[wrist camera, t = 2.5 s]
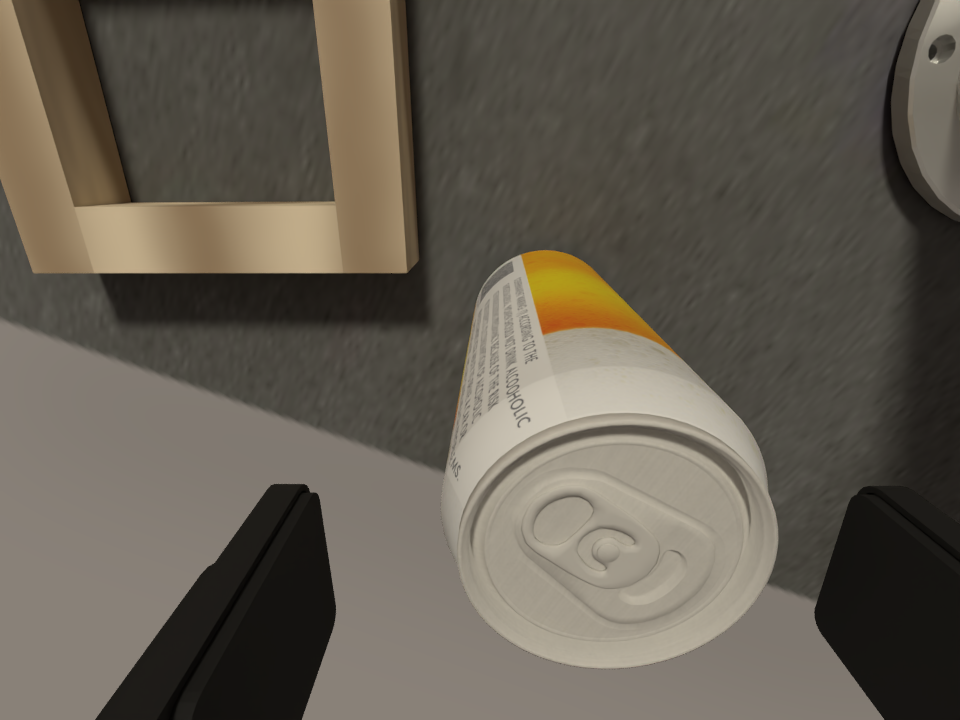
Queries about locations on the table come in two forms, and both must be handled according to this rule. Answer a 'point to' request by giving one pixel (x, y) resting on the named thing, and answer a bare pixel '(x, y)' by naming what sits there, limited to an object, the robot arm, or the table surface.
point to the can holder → (205, 225)
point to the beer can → (597, 478)
